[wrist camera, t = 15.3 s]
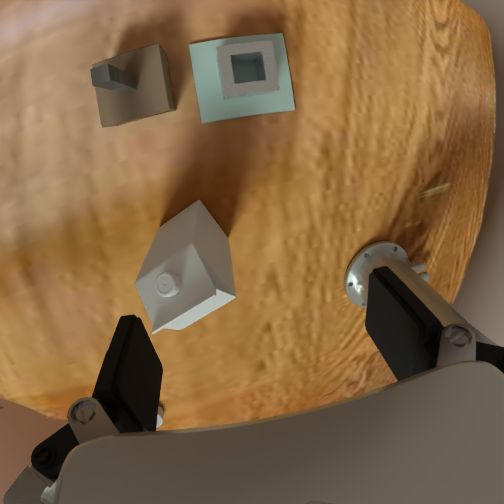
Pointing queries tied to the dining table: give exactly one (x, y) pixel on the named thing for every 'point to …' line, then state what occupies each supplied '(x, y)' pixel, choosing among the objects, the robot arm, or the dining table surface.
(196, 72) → the mat
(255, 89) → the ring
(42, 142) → the dining table surface
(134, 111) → the post
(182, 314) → the milk carton
